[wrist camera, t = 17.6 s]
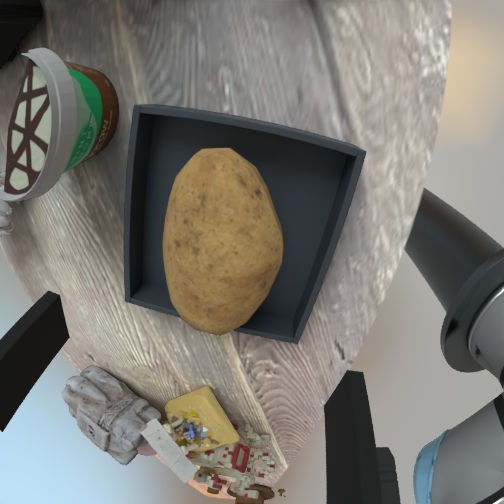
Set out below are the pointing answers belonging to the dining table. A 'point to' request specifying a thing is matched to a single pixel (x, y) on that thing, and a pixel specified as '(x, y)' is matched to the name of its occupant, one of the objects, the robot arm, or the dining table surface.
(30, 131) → the food container
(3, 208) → the fairy figurine
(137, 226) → the tray
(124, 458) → the figurine
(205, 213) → the potato
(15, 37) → the camera
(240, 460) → the voxel character
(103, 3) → the dining table surface
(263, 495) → the place setting
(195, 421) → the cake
